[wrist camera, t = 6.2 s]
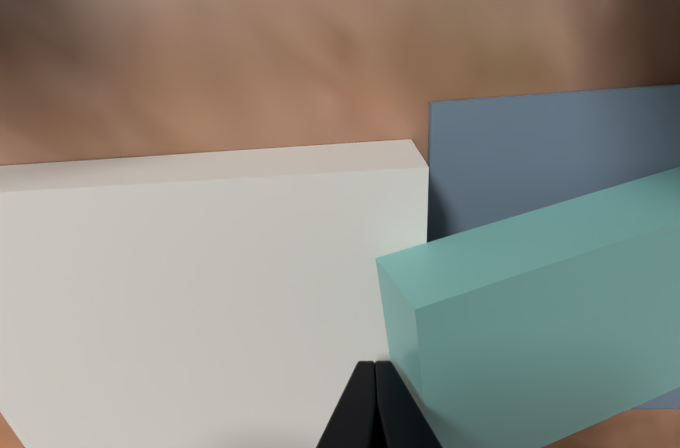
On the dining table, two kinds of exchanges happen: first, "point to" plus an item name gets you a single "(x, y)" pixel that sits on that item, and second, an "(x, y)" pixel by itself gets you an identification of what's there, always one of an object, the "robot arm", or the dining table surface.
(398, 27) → the dining table surface
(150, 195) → the block
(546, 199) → the mat
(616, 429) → the dining table surface
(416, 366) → the teal rectangular block
